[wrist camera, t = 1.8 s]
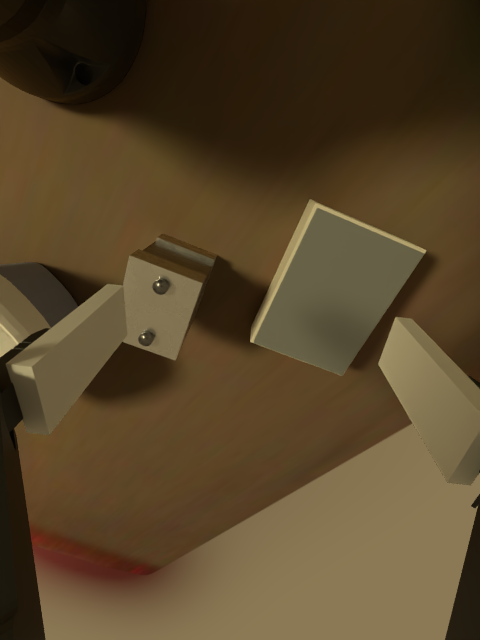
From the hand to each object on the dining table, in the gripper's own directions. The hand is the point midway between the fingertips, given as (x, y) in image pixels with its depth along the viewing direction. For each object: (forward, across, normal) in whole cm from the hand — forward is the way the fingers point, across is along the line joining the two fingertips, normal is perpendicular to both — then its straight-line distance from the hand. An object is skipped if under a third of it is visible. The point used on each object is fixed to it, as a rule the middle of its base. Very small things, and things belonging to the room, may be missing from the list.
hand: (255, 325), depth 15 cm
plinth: (+18, +8, -4) cm, 20 cm away
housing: (+18, -8, -5) cm, 21 cm away
